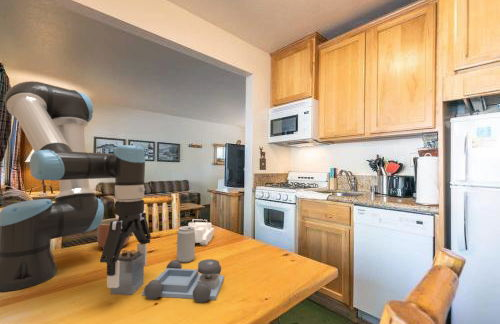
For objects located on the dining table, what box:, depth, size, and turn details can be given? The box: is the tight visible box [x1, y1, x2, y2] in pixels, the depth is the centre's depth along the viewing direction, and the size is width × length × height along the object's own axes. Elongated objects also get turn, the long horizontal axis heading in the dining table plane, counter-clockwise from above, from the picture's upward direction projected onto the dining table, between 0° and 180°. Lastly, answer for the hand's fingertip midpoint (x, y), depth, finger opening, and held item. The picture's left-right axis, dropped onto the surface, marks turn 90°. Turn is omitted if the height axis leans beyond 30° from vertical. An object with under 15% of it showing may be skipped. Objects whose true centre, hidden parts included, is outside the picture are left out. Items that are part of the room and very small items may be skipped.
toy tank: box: [187, 218, 215, 246], centre depth 110 cm, size 12×20×10 cm, turn 174°
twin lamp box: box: [110, 249, 145, 296], centre depth 67 cm, size 6×6×11 cm
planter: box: [96, 217, 131, 249], centre depth 101 cm, size 12×12×11 cm
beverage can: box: [176, 225, 196, 263], centre depth 89 cm, size 6×6×12 cm
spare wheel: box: [197, 258, 220, 277], centre depth 69 cm, size 6×6×4 cm
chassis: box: [141, 259, 225, 304], centre depth 69 cm, size 20×15×4 cm
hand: (128, 275), depth 67 cm, fingers open, 13 cm apart
